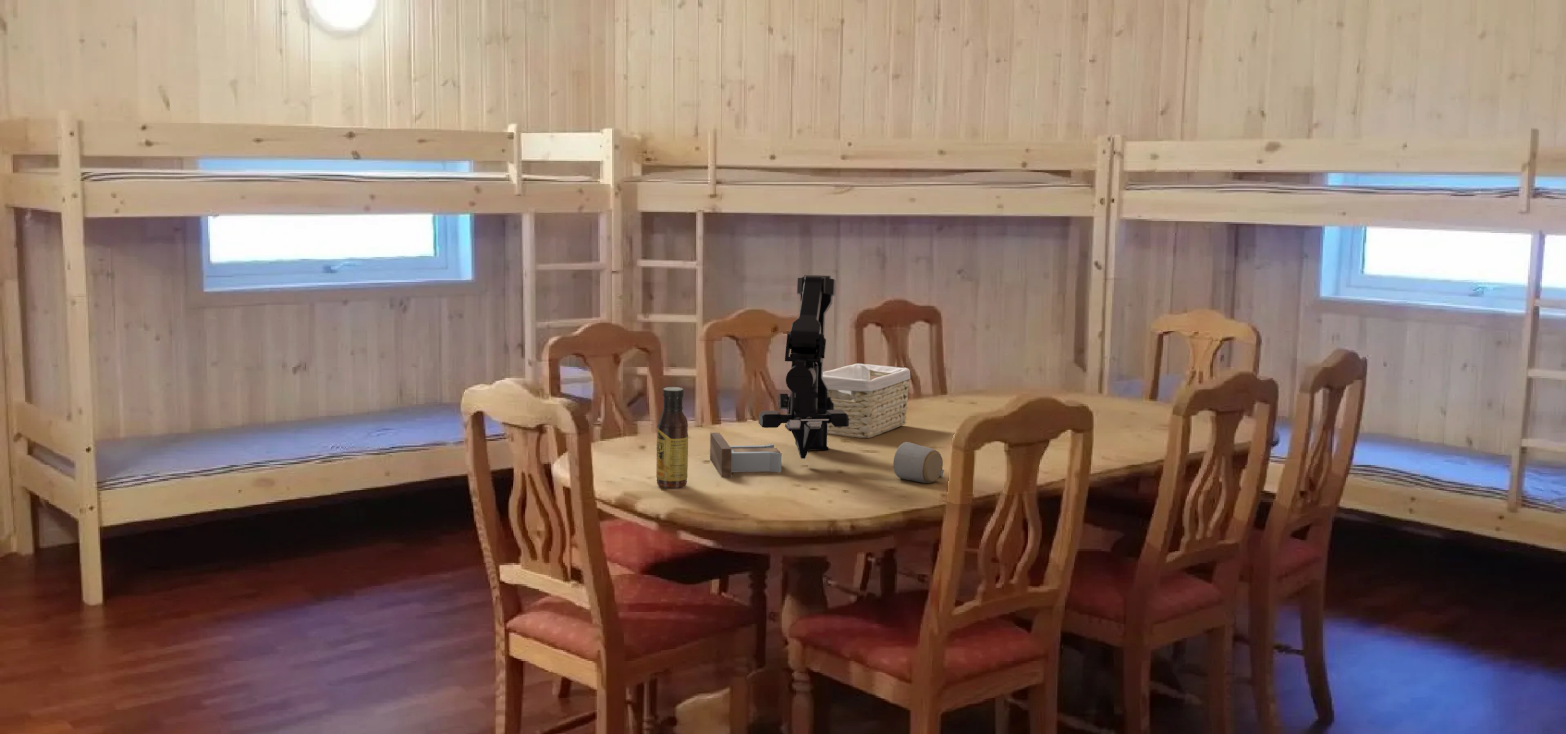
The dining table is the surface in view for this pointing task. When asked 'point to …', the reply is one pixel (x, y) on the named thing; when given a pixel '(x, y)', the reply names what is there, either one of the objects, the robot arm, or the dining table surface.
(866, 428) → the storage basket
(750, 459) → the cradle
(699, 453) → the dining table surface
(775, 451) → the rectangular wooden block
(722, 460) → the backstop
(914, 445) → the ceramic mug
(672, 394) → the sauce bottle
